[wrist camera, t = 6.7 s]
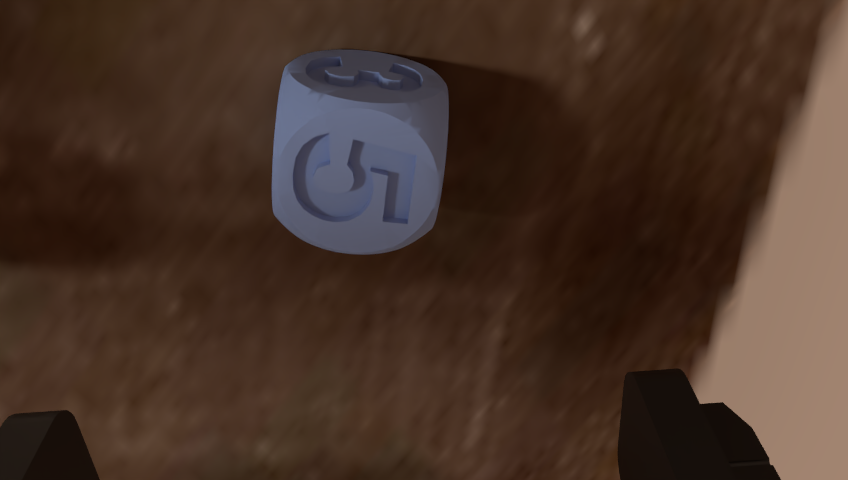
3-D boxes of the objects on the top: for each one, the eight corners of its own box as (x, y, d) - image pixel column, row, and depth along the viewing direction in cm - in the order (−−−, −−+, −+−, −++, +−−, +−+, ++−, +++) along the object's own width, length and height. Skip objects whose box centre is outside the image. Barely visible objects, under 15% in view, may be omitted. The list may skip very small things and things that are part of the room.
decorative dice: (423, 190, 23) (430, 263, 19) (286, 177, 22) (269, 249, 19) (442, 57, 21) (454, 113, 17) (292, 41, 20) (274, 94, 17)
